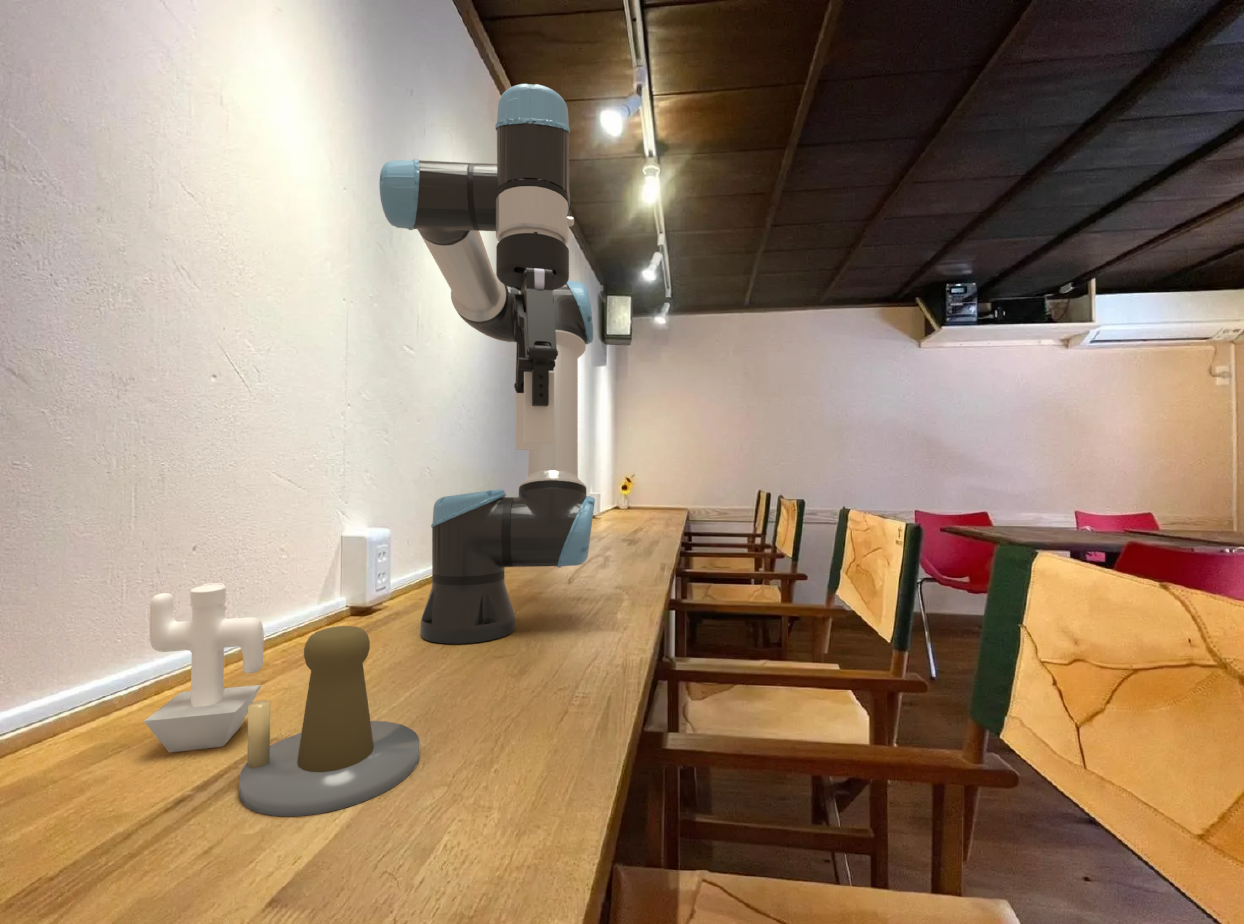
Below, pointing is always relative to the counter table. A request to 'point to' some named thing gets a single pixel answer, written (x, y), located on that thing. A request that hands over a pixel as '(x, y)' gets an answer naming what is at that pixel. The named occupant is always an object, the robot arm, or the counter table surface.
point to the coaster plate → (296, 792)
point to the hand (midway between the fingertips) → (532, 447)
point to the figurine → (204, 669)
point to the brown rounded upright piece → (336, 701)
